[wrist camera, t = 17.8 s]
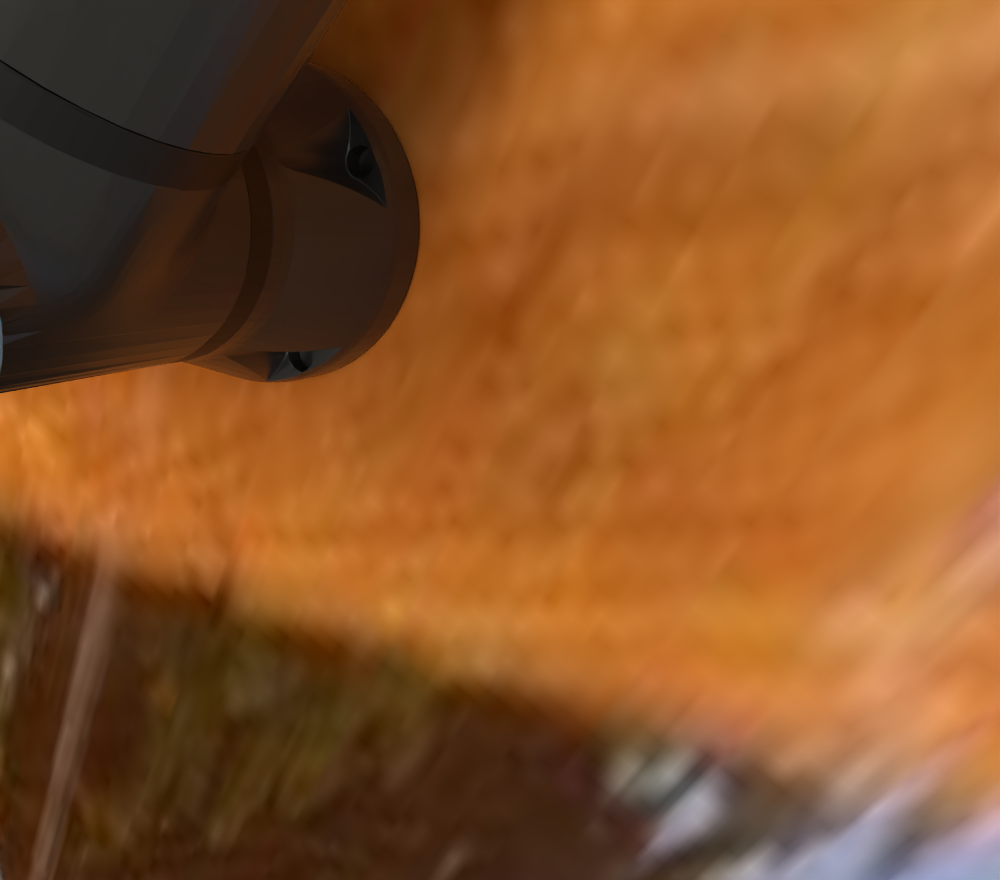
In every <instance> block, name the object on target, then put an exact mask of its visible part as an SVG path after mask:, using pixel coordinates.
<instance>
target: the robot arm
mask: <svg viewBox="0 0 1000 880" xmlns="http://www.w3.org/2000/svg"><path fill="white" fill-rule="evenodd" d="M346 1H347V0H0V393H4V392H10V391H15V390H21V389H26V388H32V387H38V386H43V385H49V384H55V383H60V382H66V381H71V380H77V379H83V378H88V377H94V376H100V375H105V374H111V373H116V372H122V371H128V370H133V369H139V368H145V367H151V366H157V365H163V364H168V363H174V362H181V361H182V362H186V363H189V364H193V365H196V366H200V367H203V368H207V369H210V370H214V371H217V372H221V373H224V374H227V375H231V376H234V377H238V378H242V379H246V380H251V381H258V382H287V381H294V380H299V379H303V378H308V377H313V376H317V375H321V374H325V373H328V372H331V371H334V370H336V369H339V368H341V367H343V366H345V365H347V364H349V363H350V362H352V361H353V360H355V359H357V358H358V357H359V356H361V355H362V354H363V353H365V352H366V351H367V350H368V349H369V348H370V347H371V346H372V345H373V344H375V342H376V341H377V340H378V339H379V338H380V337H381V336H382V335H383V333H384V332H385V331H386V329H387V328H388V327H389V325H390V324H391V322H392V321H393V319H394V318H395V316H396V314H397V312H398V311H399V309H400V307H401V305H402V302H403V300H404V298H405V296H406V293H407V290H408V288H409V285H410V282H411V278H412V275H413V271H414V267H415V262H416V256H417V249H418V238H419V215H418V204H417V196H416V190H415V185H414V181H413V177H412V173H411V170H410V166H409V163H408V160H407V158H406V155H405V153H404V150H403V148H402V146H401V144H400V141H399V139H398V137H397V136H396V134H395V132H394V130H393V128H392V127H391V125H390V124H389V122H388V121H387V119H386V118H385V116H384V115H383V114H382V112H381V111H380V110H379V108H378V107H377V106H376V105H375V104H374V103H373V101H372V100H371V99H370V98H369V97H368V96H367V95H366V94H365V93H364V92H362V91H361V90H360V89H359V88H358V87H356V86H355V85H354V84H353V83H351V82H350V81H348V80H347V79H346V78H344V77H342V76H340V75H339V74H337V73H335V72H333V71H331V70H329V69H327V68H324V67H321V66H319V65H316V64H313V63H309V62H308V60H309V59H310V57H311V56H312V54H313V53H314V51H315V49H316V48H317V46H318V45H319V43H320V42H321V40H322V39H323V37H324V35H325V34H326V32H327V31H328V29H329V28H330V26H331V24H332V23H333V21H334V20H335V18H336V17H337V15H338V14H339V12H340V10H341V9H342V7H343V6H344V4H345V3H346Z"/></svg>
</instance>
